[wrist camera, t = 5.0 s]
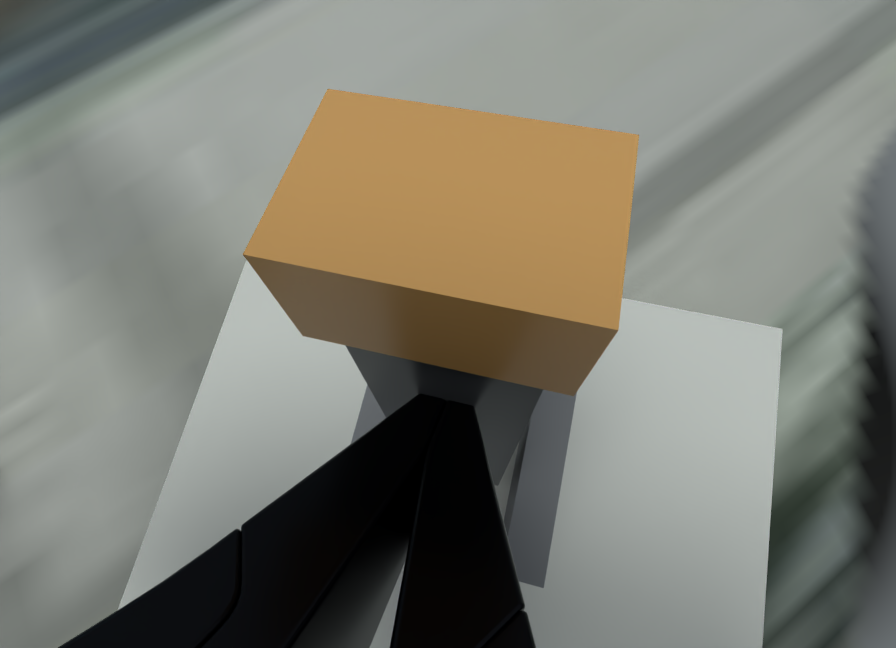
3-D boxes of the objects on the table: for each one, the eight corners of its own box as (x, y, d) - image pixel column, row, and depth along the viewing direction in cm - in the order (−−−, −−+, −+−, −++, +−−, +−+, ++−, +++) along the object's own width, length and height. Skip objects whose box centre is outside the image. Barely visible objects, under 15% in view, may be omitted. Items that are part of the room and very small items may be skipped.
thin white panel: (664, 1150, 13) (815, 1731, 7) (70, 900, 15) (-189, 1176, 9) (735, 349, 18) (852, 298, 12) (290, 260, 20) (213, 182, 15)
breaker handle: (505, 497, 13) (618, 330, 4) (401, 470, 14) (243, 253, 4) (518, 427, 14) (638, 134, 4) (420, 404, 15) (327, 88, 5)
